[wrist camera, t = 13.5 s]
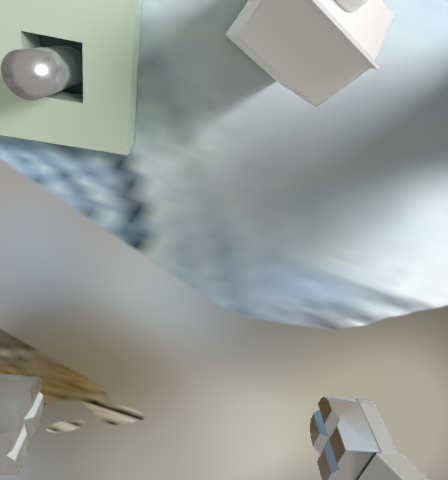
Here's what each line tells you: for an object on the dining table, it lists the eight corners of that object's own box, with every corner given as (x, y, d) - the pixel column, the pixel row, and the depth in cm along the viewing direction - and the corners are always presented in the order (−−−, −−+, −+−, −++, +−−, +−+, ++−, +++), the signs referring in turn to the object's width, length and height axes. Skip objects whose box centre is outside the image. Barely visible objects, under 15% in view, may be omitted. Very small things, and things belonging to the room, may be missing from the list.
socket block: (142, -2, 34) (135, -6, 30) (134, 144, 40) (127, 155, 37) (-17, -36, 32) (-44, -45, 28) (2, 123, 38) (-17, 132, 35)
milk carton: (276, 82, 38) (333, 119, 21) (224, 34, 35) (243, 36, 19) (324, 20, 35) (431, 9, 19) (271, -36, 33) (341, -104, 16)
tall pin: (86, 49, 35) (49, 54, 27) (86, 87, 37) (51, 104, 29) (48, 41, 35) (-3, 44, 26) (50, 81, 37) (4, 96, 28)
